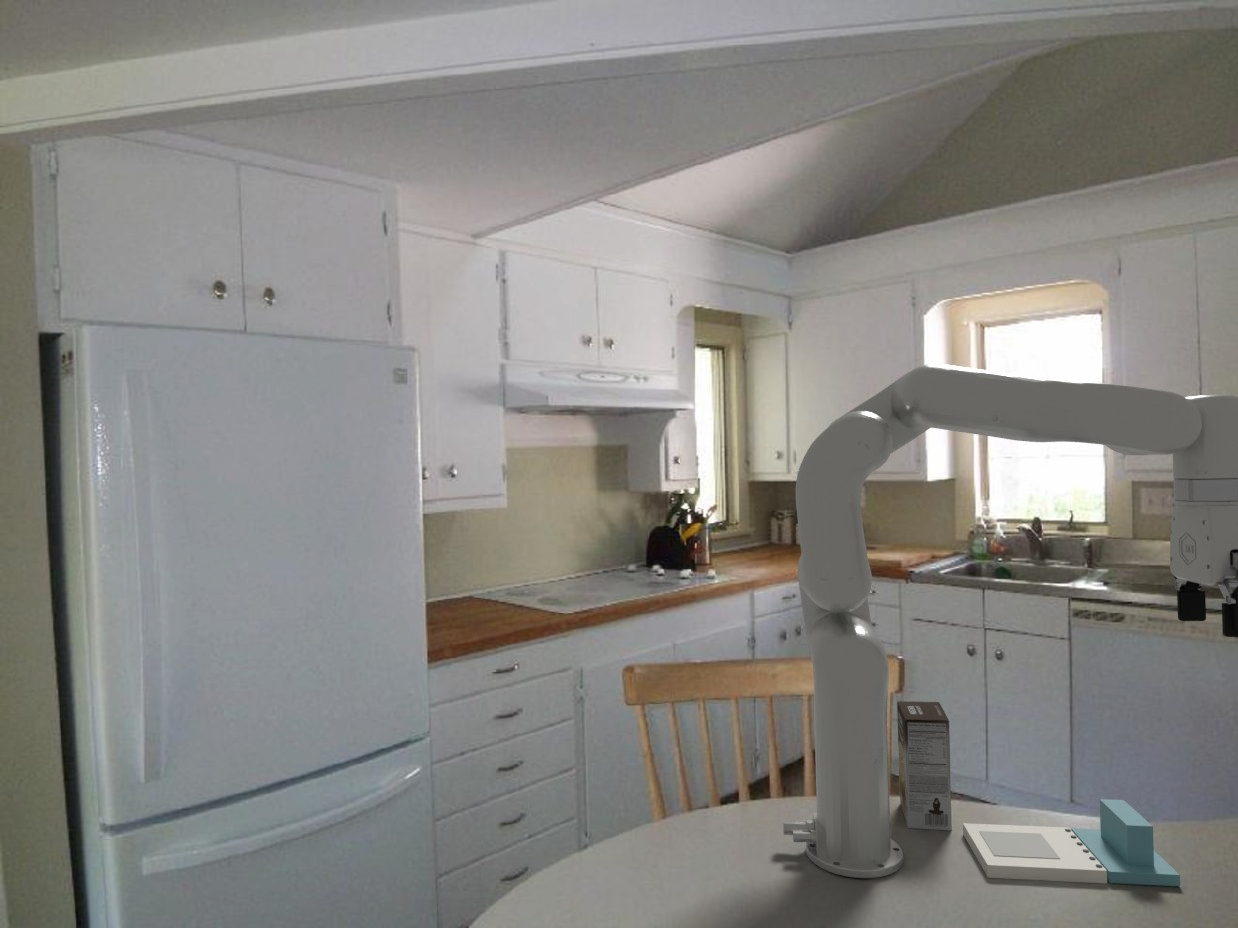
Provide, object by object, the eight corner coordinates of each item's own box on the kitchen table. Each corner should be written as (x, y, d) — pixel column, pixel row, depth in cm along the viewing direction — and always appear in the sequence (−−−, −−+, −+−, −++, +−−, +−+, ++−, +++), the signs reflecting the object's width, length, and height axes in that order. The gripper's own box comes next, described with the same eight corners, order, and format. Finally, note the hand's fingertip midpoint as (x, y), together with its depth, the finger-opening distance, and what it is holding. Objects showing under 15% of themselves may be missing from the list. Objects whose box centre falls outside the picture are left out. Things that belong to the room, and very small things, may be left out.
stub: (1109, 882, 101) (1108, 831, 101) (1071, 838, 112) (1070, 792, 112) (1180, 886, 99) (1178, 834, 99) (1133, 840, 111) (1132, 794, 111)
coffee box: (898, 802, 126) (895, 699, 126) (942, 805, 125) (939, 700, 125) (907, 829, 117) (904, 718, 117) (954, 831, 116) (951, 719, 116)
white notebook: (988, 877, 103) (987, 863, 103) (963, 834, 115) (962, 822, 115) (1107, 883, 101) (1106, 869, 101) (1069, 838, 112) (1068, 826, 112)
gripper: (1142, 491, 111) (1146, 615, 111) (1218, 496, 94) (1223, 643, 94) (1202, 489, 110) (1206, 615, 110) (1289, 495, 93) (1294, 643, 93)
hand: (1214, 628), depth 102 cm, fingers open, 9 cm apart
